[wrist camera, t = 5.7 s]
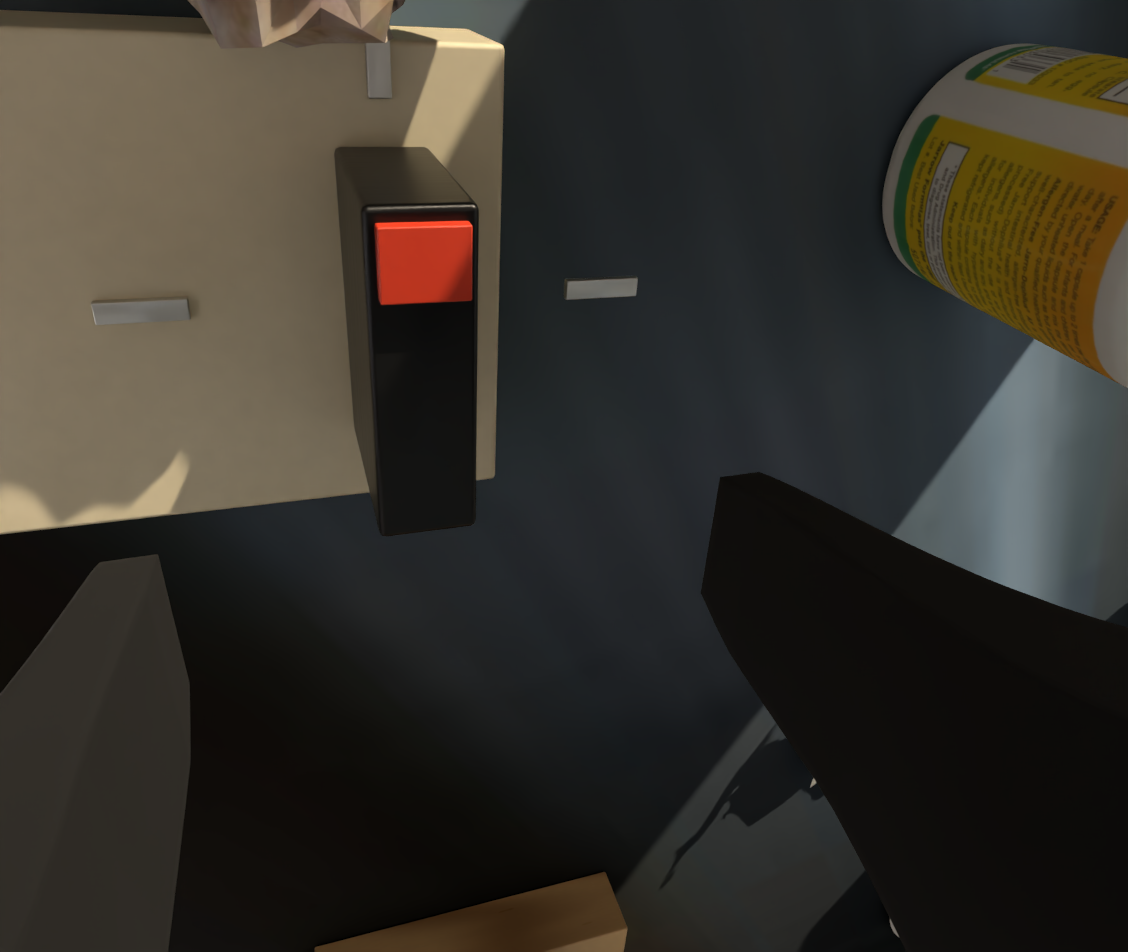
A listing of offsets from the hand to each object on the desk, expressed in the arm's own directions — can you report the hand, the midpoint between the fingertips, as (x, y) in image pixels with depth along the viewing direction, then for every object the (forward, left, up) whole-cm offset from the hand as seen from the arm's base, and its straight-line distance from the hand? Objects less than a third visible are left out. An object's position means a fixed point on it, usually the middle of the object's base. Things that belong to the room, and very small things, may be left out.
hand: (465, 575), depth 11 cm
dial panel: (-2, +2, -8) cm, 9 cm away
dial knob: (0, +2, -6) cm, 6 cm away
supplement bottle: (+14, +3, -8) cm, 17 cm away
